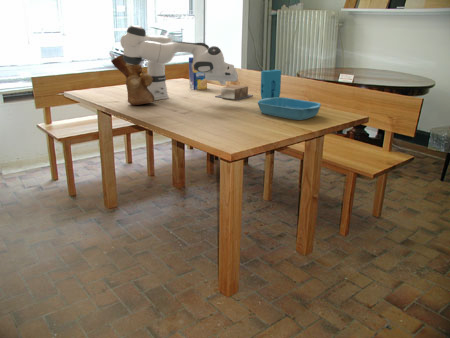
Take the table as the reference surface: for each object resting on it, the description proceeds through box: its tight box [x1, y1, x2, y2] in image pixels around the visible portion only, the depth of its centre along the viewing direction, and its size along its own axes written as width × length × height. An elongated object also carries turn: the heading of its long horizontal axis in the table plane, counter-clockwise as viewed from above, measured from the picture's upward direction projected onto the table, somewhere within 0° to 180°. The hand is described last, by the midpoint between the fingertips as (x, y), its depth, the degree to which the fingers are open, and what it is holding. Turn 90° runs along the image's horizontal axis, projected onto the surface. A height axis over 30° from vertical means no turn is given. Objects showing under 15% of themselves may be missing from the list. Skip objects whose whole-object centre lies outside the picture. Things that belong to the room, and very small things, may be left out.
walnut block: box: [220, 84, 249, 100], centre depth 295 cm, size 6×10×16 cm
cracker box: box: [188, 56, 208, 91], centre depth 326 cm, size 7×11×22 cm, turn 122°
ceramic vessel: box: [111, 54, 155, 106], centre depth 269 cm, size 16×22×30 cm
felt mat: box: [214, 94, 254, 101], centre depth 298 cm, size 18×18×1 cm
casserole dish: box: [257, 96, 322, 121], centre depth 247 cm, size 37×22×7 cm, turn 46°
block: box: [260, 69, 282, 99], centre depth 272 cm, size 12×5×20 cm, turn 120°
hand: (223, 83), depth 280 cm, fingers closed
